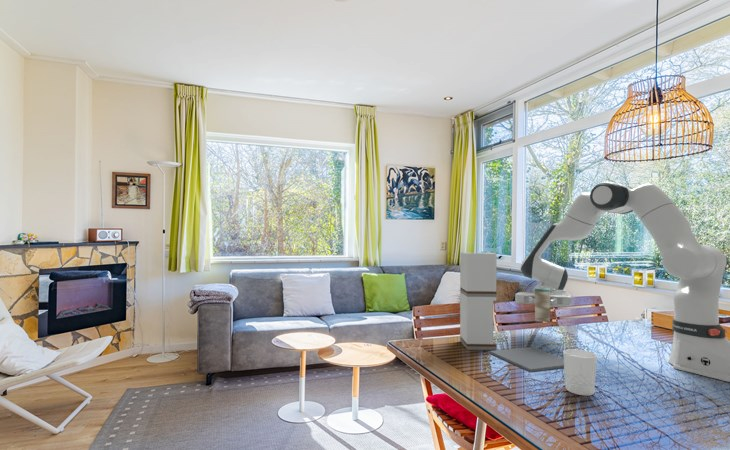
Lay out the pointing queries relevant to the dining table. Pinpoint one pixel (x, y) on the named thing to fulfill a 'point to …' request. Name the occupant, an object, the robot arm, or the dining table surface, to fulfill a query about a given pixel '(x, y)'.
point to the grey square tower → (477, 300)
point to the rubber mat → (530, 358)
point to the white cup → (580, 371)
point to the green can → (542, 304)
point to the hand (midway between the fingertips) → (542, 302)
